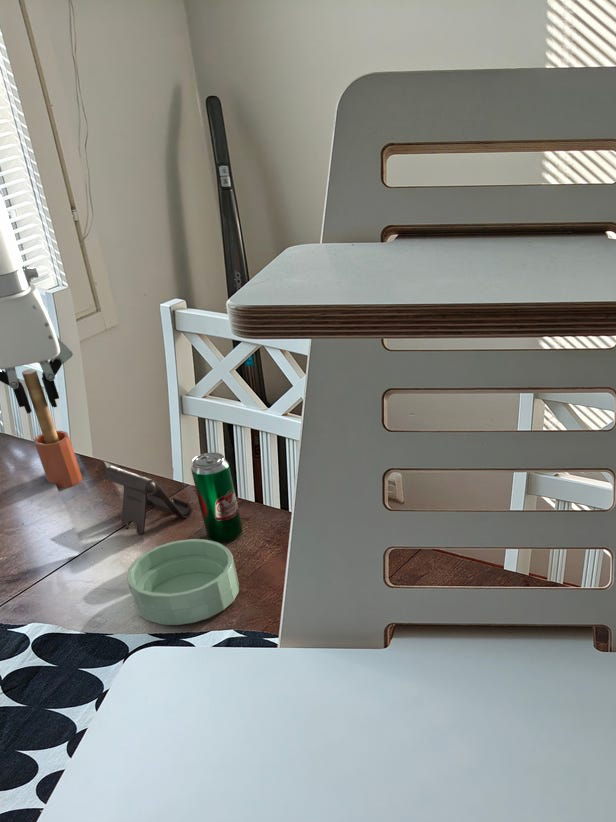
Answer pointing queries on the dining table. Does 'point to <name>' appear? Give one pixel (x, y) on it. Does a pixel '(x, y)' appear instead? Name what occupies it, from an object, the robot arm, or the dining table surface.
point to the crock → (59, 461)
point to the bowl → (183, 581)
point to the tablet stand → (143, 497)
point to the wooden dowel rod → (40, 406)
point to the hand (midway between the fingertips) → (40, 405)
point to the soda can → (216, 497)
